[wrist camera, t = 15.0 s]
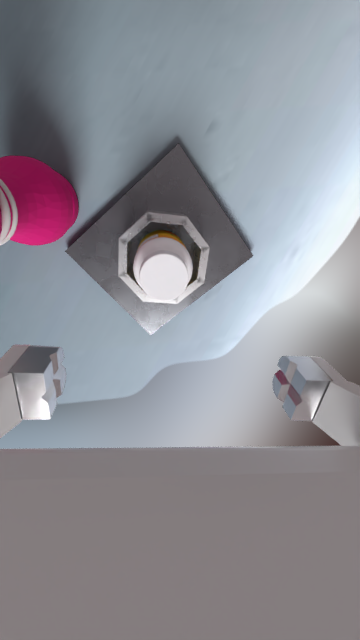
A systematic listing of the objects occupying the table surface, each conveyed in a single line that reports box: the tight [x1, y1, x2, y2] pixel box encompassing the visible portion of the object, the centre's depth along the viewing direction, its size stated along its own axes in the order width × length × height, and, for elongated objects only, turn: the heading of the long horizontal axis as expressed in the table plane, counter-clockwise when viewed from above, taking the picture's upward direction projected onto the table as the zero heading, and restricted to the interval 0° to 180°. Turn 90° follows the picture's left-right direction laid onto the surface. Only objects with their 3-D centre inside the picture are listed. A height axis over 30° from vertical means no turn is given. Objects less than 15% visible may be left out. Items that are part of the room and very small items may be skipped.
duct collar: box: [65, 143, 253, 335], centre depth 28 cm, size 16×14×5 cm
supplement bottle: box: [133, 230, 193, 301], centre depth 25 cm, size 5×5×10 cm
